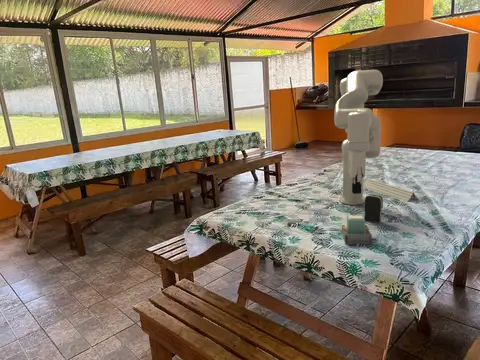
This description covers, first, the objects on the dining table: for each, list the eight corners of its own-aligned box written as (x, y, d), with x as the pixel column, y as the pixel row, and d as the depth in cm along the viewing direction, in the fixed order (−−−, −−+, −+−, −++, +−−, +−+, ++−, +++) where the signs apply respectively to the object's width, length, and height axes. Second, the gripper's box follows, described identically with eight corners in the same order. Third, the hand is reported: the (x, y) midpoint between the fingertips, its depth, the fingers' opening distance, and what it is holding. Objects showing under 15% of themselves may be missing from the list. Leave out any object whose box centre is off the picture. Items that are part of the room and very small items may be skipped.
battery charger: (383, 220, 152) (384, 195, 149) (379, 223, 149) (380, 197, 146) (367, 217, 157) (368, 192, 154) (363, 220, 154) (364, 195, 151)
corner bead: (419, 200, 175) (420, 190, 173) (406, 203, 171) (406, 193, 170) (373, 185, 202) (373, 176, 201) (361, 188, 199) (361, 179, 197)
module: (346, 232, 142) (347, 214, 139) (362, 232, 141) (362, 214, 139) (348, 236, 137) (348, 219, 135) (364, 237, 136) (364, 219, 134)
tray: (341, 232, 143) (341, 224, 142) (366, 232, 142) (366, 224, 140) (345, 243, 134) (345, 234, 133) (371, 244, 132) (371, 234, 131)
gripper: (344, 141, 137) (343, 186, 142) (350, 150, 123) (349, 200, 128) (364, 141, 136) (363, 186, 141) (372, 150, 122) (370, 199, 127)
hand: (356, 192), depth 135 cm, fingers closed
